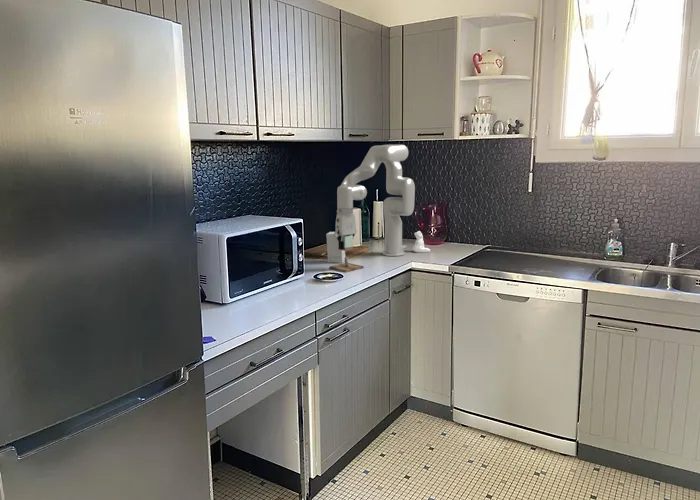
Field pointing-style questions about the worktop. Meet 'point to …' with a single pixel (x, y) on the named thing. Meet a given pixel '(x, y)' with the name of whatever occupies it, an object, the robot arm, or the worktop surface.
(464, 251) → the worktop surface
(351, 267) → the pin board
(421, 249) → the white creature statuette
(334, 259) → the skincare box
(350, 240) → the sleeve
